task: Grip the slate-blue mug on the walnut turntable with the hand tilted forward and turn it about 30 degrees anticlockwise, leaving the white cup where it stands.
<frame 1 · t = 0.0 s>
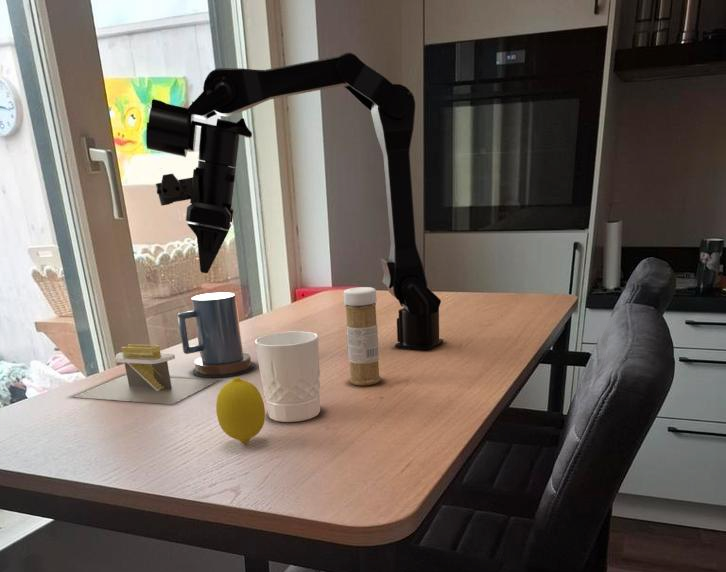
hand: (205, 269, 112), 15 cm above the table, tool pointing down, fingers open, 9 cm apart
spice jar: (365, 383, 103), on the table
lemon: (245, 444, 83), on the table
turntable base: (224, 369, 115), on the table
platform: (146, 389, 107), on the table
mug: (213, 333, 112), point 6 cm above the table, hinge at 0.0°
white cup: (294, 415, 92), on the table
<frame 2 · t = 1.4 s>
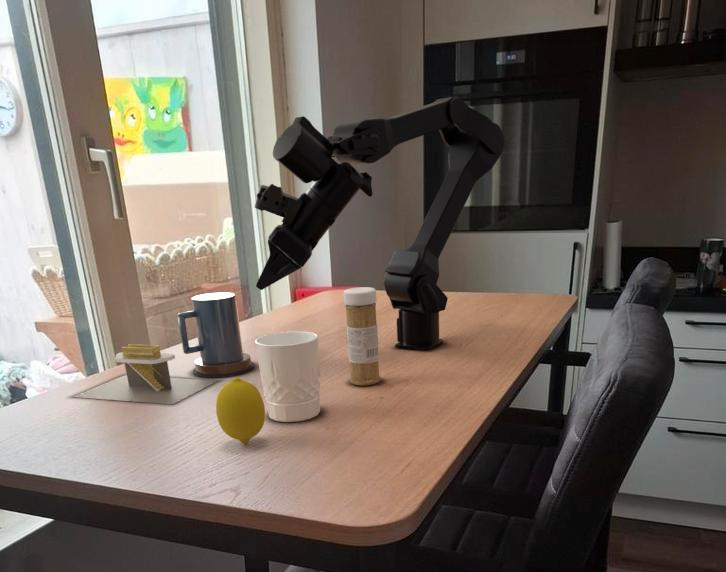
hand: (262, 282, 109), 13 cm above the table, tool tilted 45°, fingers open, 9 cm apart
nothing on the table moved.
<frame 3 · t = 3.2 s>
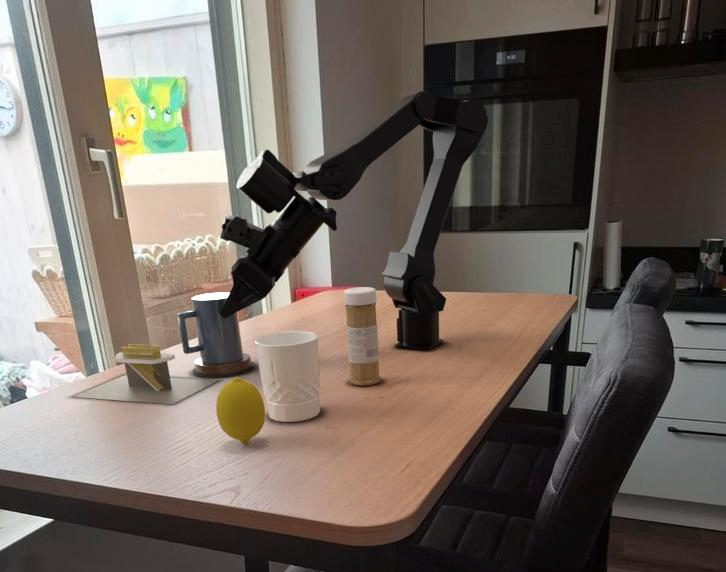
hand: (227, 310, 111), 9 cm above the table, tool tilted 45°, fingers open, 9 cm apart
nothing on the table moved.
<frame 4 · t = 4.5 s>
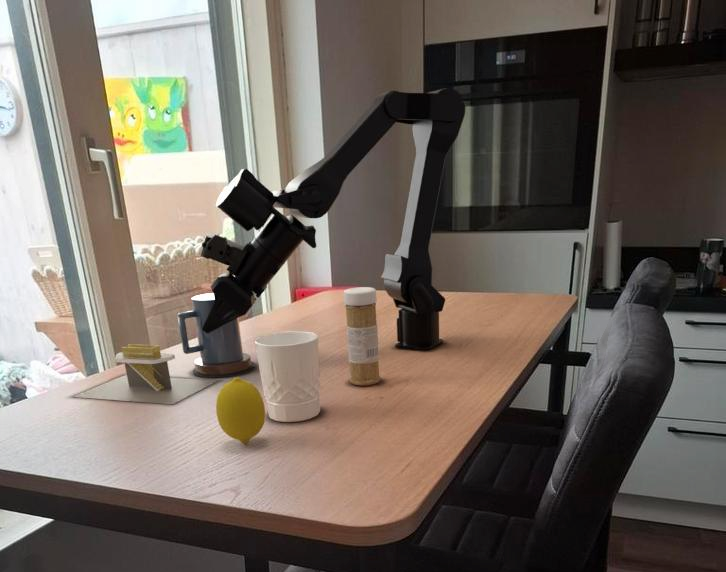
hand: (209, 326, 112), 7 cm above the table, tool tilted 45°, fingers closed on mug, 7 cm apart
mug: (213, 333, 112), point 6 cm above the table, hinge at 0.0°, touching gripper
everything else where it was.
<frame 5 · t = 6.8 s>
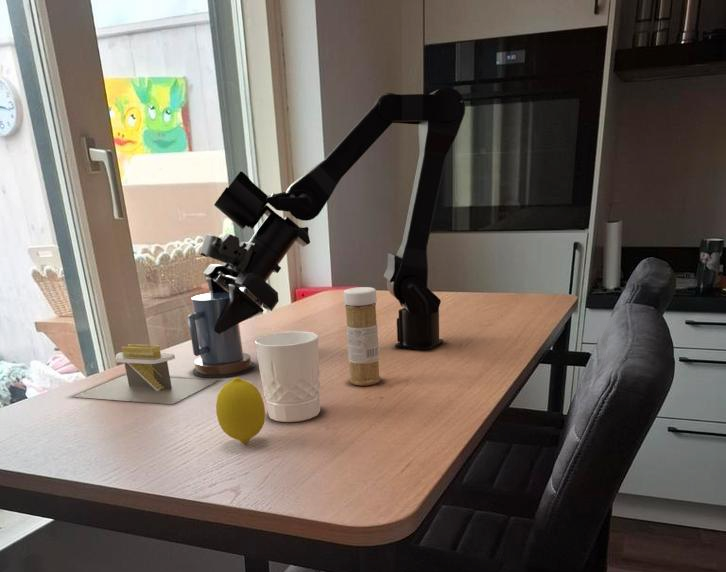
hand: (208, 328, 111), 7 cm above the table, tool tilted 45°, fingers closed on mug, 7 cm apart
mug: (215, 334, 111), point 6 cm above the table, hinge at 26.8°, touching gripper
everything else where it was.
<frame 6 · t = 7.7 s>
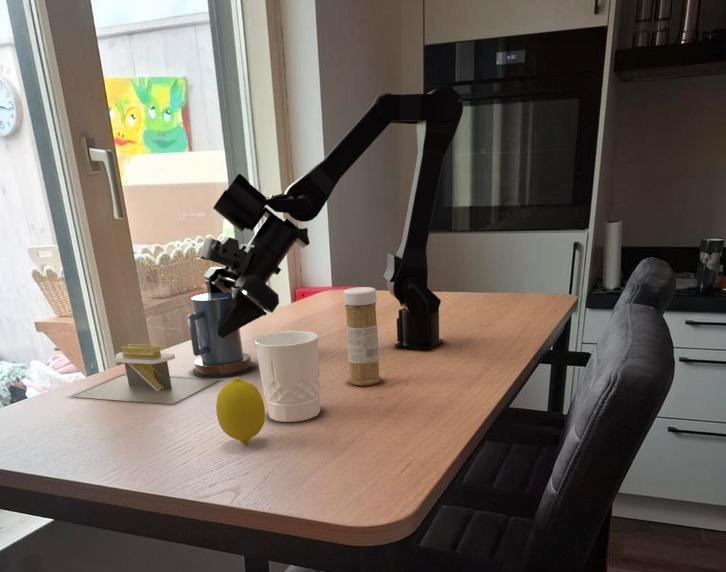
hand: (209, 331, 111), 6 cm above the table, tool tilted 45°, fingers open, 9 cm apart
mug: (215, 334, 111), point 6 cm above the table, hinge at 26.5°
everything else where it was.
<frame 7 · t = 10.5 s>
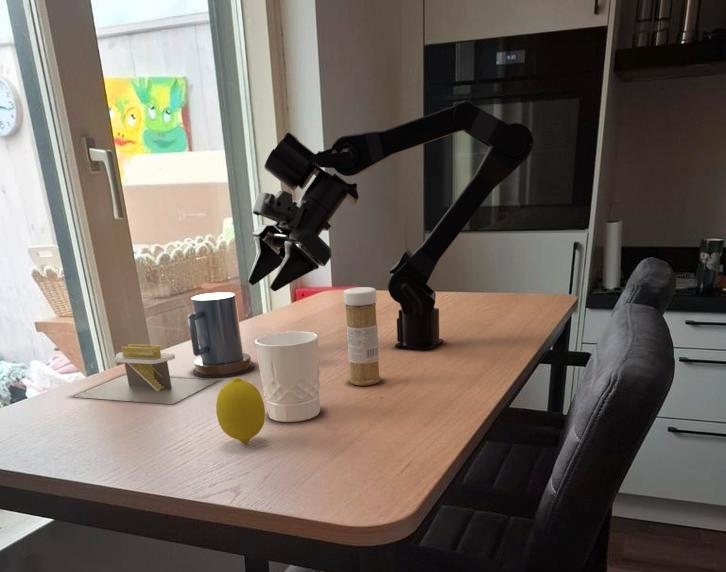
hand: (260, 286, 113), 12 cm above the table, tool tilted 45°, fingers open, 9 cm apart
nothing on the table moved.
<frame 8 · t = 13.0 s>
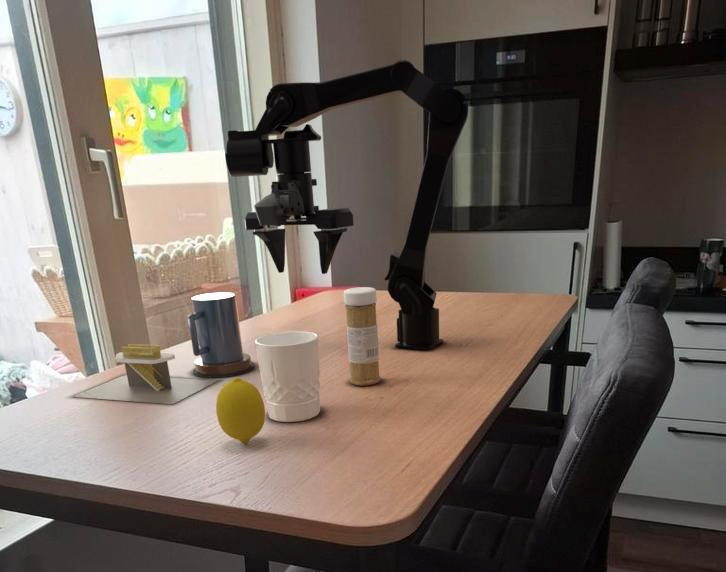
hand: (302, 273, 120), 13 cm above the table, tool pointing down, fingers open, 9 cm apart
nothing on the table moved.
at the end: mug at +26° (first picture: +0°); white cup moved 0.2 cm from its start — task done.
